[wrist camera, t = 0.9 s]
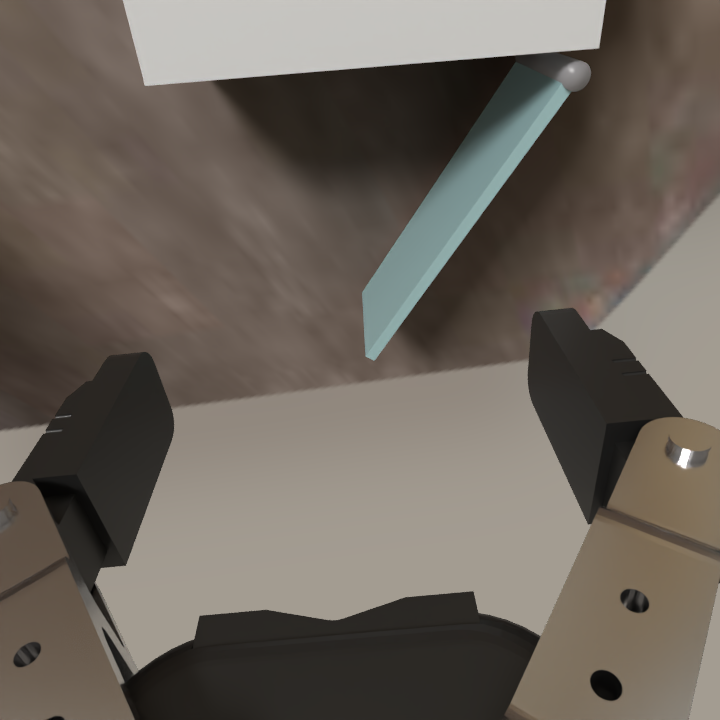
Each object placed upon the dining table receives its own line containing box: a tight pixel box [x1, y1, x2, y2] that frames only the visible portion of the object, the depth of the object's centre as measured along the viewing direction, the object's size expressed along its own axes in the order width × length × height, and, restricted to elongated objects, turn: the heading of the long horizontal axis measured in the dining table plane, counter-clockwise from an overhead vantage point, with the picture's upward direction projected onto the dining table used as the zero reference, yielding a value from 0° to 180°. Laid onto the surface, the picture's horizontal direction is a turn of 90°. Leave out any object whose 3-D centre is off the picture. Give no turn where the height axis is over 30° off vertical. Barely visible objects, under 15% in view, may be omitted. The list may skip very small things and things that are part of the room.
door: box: [362, 52, 591, 361], centre depth 27 cm, size 15×1×7 cm, turn 149°
